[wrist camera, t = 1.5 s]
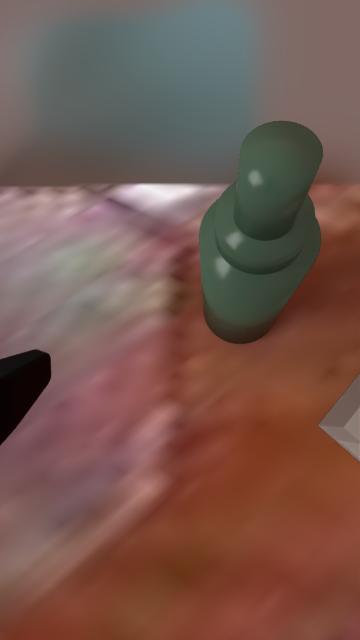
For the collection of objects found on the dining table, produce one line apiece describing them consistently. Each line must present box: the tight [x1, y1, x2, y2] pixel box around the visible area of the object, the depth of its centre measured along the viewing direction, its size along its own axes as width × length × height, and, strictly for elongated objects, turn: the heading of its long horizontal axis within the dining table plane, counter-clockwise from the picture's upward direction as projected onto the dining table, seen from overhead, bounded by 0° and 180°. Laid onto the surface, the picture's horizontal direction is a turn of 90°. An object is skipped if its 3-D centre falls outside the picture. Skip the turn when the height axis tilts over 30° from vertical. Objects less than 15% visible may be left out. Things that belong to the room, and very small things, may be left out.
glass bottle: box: [199, 121, 323, 344], centre depth 16 cm, size 5×5×14 cm
